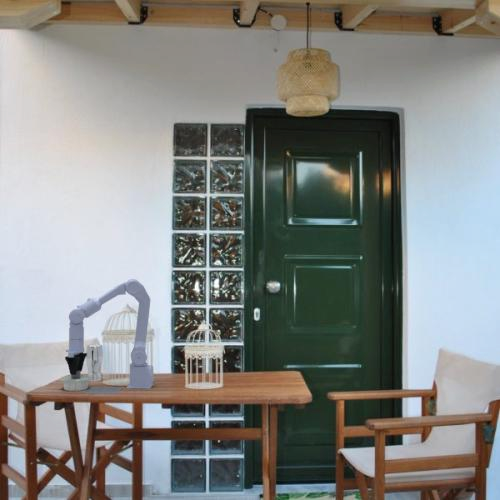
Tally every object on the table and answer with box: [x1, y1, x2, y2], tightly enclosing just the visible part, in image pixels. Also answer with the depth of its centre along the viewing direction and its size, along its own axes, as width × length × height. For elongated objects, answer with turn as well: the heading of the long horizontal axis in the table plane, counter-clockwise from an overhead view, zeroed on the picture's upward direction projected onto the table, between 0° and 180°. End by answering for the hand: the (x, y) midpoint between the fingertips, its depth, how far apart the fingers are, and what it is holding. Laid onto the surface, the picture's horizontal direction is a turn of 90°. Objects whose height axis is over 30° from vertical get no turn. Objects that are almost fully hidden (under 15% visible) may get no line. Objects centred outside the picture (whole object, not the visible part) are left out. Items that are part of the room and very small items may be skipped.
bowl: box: [63, 381, 89, 392], centre depth 259 cm, size 9×9×4 cm
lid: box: [59, 370, 91, 383], centre depth 259 cm, size 12×12×3 cm
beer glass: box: [85, 344, 104, 382], centre depth 278 cm, size 7×7×15 cm
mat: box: [82, 386, 124, 395], centre depth 256 cm, size 13×13×1 cm
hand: (76, 372), depth 259 cm, fingers open, 7 cm apart
